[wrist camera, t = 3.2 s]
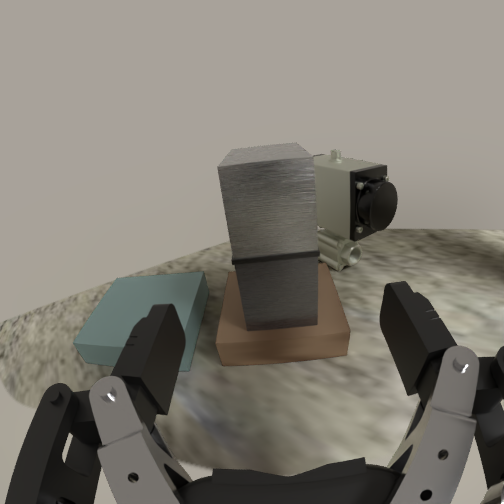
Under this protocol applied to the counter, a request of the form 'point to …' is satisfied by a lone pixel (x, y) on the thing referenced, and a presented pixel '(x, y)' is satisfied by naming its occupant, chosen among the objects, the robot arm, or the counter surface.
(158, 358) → the robot arm
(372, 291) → the counter surface
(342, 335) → the stand
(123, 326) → the stand
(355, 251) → the pneumatic valve
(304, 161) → the block
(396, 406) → the counter surface
